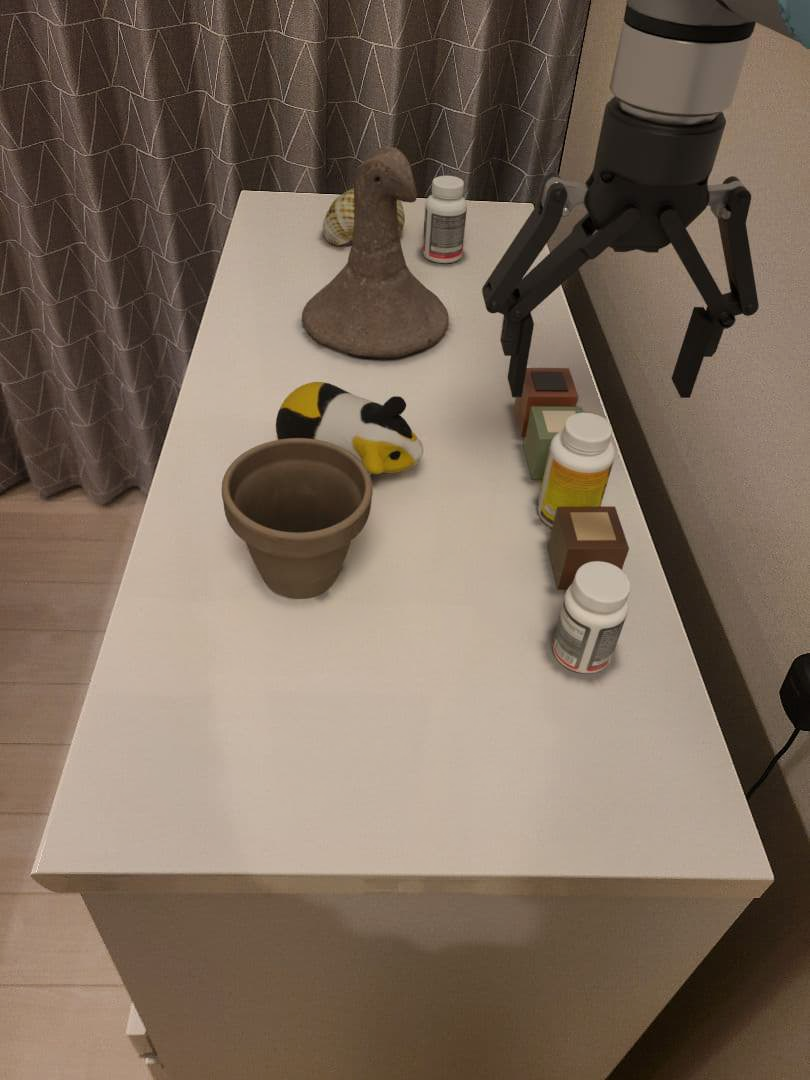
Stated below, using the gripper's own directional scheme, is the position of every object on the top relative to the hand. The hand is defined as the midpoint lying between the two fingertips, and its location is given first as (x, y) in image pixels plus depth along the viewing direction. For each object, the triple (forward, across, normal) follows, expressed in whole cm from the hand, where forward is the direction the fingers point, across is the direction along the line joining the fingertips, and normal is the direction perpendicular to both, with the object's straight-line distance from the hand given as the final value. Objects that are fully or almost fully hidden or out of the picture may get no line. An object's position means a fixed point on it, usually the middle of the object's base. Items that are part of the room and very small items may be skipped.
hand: (597, 388), depth 67 cm
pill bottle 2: (+14, +2, +16) cm, 21 cm away
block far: (+14, 0, -7) cm, 16 cm away
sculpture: (+14, +17, -33) cm, 39 cm away
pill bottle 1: (+14, +7, -50) cm, 53 cm away
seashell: (+14, +18, -55) cm, 59 cm away
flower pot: (+14, +24, +7) cm, 29 cm away
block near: (+14, 0, +7) cm, 16 cm away
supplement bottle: (+14, 0, 0) cm, 14 cm away
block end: (+14, 0, -14) cm, 20 cm away
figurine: (+14, +20, -8) cm, 26 cm away
